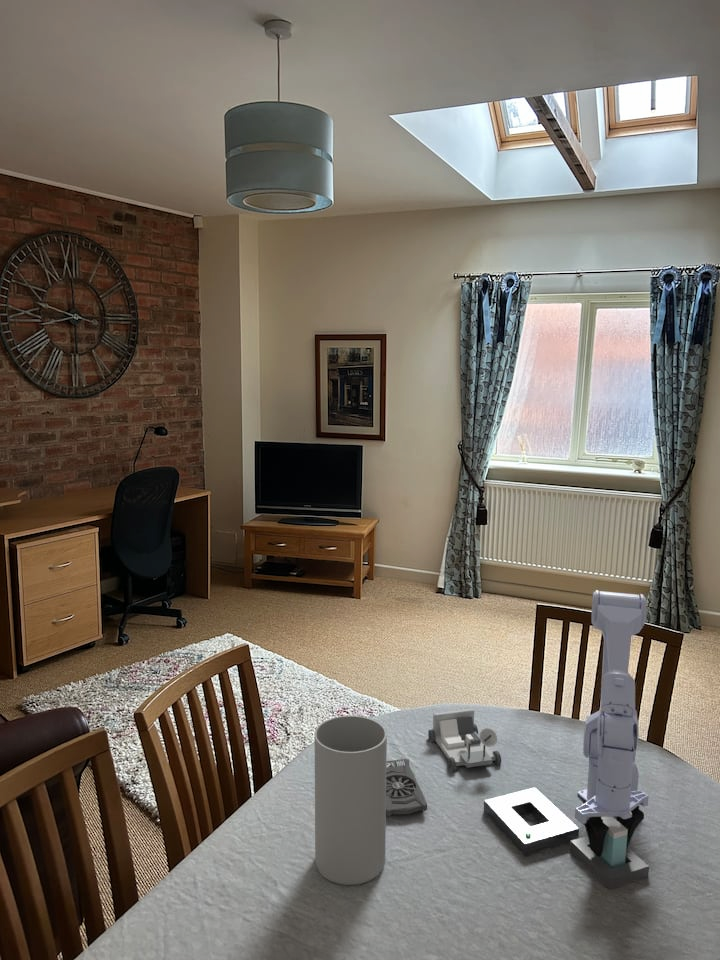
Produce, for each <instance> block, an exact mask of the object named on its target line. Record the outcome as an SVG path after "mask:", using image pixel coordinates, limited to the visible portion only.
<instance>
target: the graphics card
mask: <svg viewBox="0 0 720 960" xmlns="http://www.w3.org/2000/svg"><path fill="white" fill-rule="evenodd" d="M389 764H390V765H389ZM393 764H394V765H393ZM427 810H428V803H427V801H426V798H425V796H424V793H423V791H422V790H421V787H420V785H419V783H418V781H417V779H416V776H415V774H414V772H413V771H412V769H411V766H410V758H409V757H407V758H402V759H393V760H386V816H387V817H388V816H389V817H391V815H410V814H414V813H417V812H420V811H423V812H425V811H427Z"/></svg>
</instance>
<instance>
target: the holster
mask: <svg viewBox="0 0 720 960" xmlns="http://www.w3.org/2000/svg"><path fill="white" fill-rule="evenodd" d="M569 851H570V852H571V853H572V854H573V855H574V856H575V857H576V858H577V859H578V860H579V861H580V862H581V863H582V864H583V865H584V866H585V867H586V868H587V869H588V870H589V871H590V872H591V873H592V874H593V875H594V876H595V877H596V878H597V879H598V880H599V881H600V882H601V883H602V884H603V885H604V886H605V887H606V888H607V889H608V890H611V889H614V888H616V887H620V886H623V885H626V884H629V883H632V882H636V881H638V880H641V879H645V878H647V877H649V872H650V866H649V865H648V864H647V863H646V862H645V861H644V860H643V859H641V858H640V857H639V856H638V855H637V854H636V853H635V852H634V851H632V849H630V848H629V846H628V847H627V848H626V858H625V864H623V865H620V866H617V867H613V868H611V867H609V866H608V865H607V864H606V863H605V862H604V861H603V860H602V859H601V858H600V857H598V856H597V855H596V854H595V853H594V852H592V851H591V848H590V842H589V838H588V835H584V836H581V837H579V838H578V839H575V840H571V842H570V843H569Z"/></svg>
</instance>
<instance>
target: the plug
mask: <svg viewBox="0 0 720 960" xmlns="http://www.w3.org/2000/svg"><path fill="white" fill-rule="evenodd" d="M601 819H603V823H604V824H605V825H607V826H608V827H609V829H608V831H607V833H606V836H605V839H604V844H603V852H602V855H601V856H599V857H600V858H601V859H602V860H603V861H604V862H605V863H606V864H607V865H608V866H609V867H611V868H613V867H617V866H620V865H623V864H625V858H626V845H627V832H628V829H626V828H625V827H624V826H623V825H622V824H621V823H619V822H618V821H617V820H616V817H615V816H612V817H601Z"/></svg>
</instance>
